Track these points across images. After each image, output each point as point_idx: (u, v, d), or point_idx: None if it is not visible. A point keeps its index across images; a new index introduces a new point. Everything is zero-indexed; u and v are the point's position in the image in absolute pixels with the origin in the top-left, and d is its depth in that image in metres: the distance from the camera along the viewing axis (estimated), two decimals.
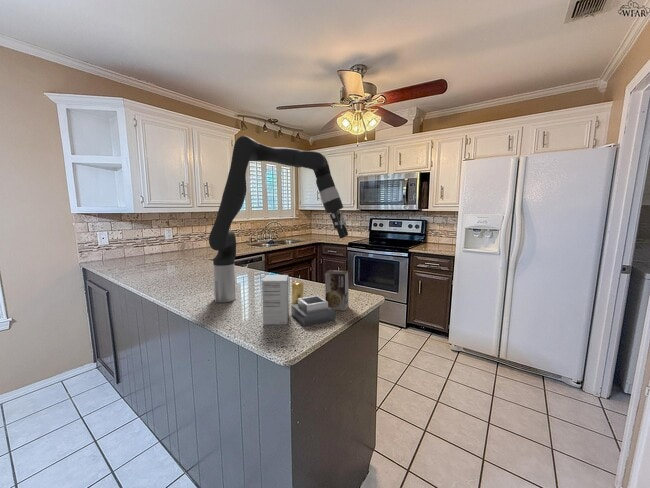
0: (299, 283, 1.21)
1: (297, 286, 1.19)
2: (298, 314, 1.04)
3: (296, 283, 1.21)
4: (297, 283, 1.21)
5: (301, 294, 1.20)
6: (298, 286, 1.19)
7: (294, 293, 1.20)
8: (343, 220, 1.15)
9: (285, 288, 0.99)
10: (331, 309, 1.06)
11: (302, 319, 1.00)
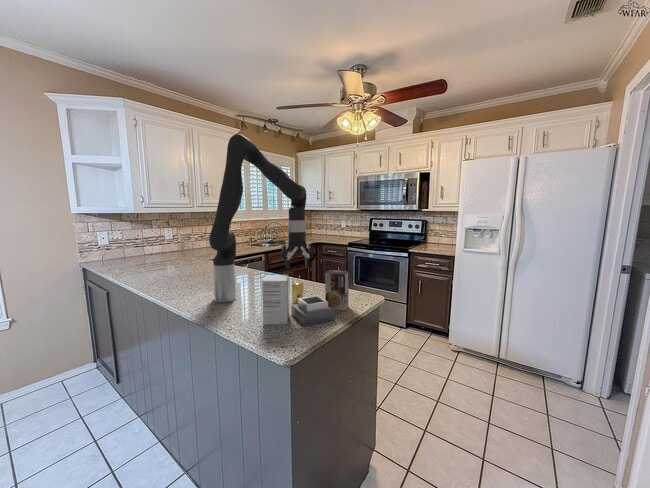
0: (299, 283, 1.21)
1: (297, 286, 1.19)
2: (298, 314, 1.04)
3: (296, 283, 1.21)
4: (297, 283, 1.21)
5: (301, 294, 1.20)
6: (298, 286, 1.19)
7: (294, 293, 1.20)
8: (303, 252, 1.19)
9: (285, 288, 0.99)
10: (331, 309, 1.06)
11: (302, 319, 1.00)
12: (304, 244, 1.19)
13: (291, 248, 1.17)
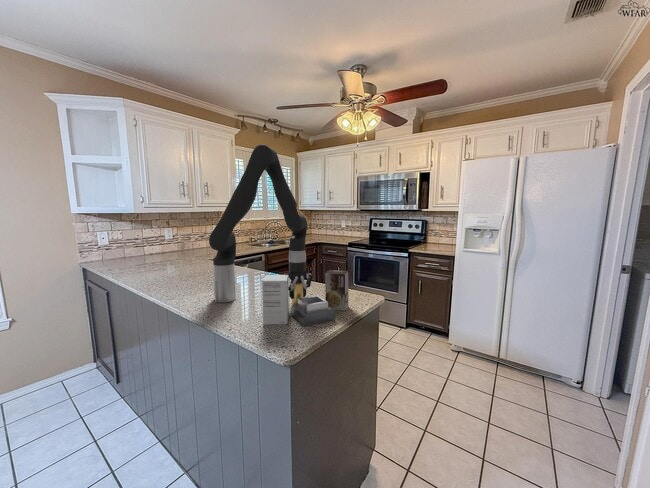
0: (299, 283, 1.21)
1: (297, 286, 1.19)
2: (298, 314, 1.04)
3: (296, 283, 1.21)
4: (297, 283, 1.21)
5: (301, 294, 1.20)
6: (298, 286, 1.19)
7: (294, 293, 1.20)
8: (302, 282, 1.20)
9: (285, 288, 0.99)
10: (331, 309, 1.06)
11: (302, 319, 1.00)
12: (304, 273, 1.21)
13: (292, 279, 1.19)
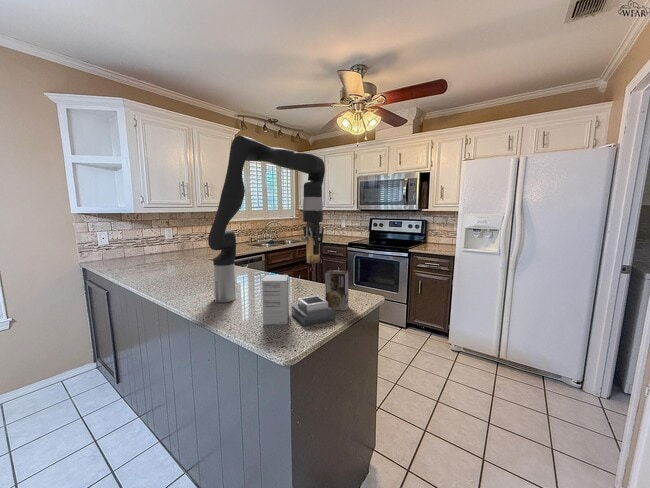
0: None
1: None
2: (298, 314, 1.04)
3: None
4: None
5: None
6: None
7: None
8: None
9: (285, 288, 0.99)
10: (331, 309, 1.06)
11: (302, 319, 1.00)
12: None
13: None
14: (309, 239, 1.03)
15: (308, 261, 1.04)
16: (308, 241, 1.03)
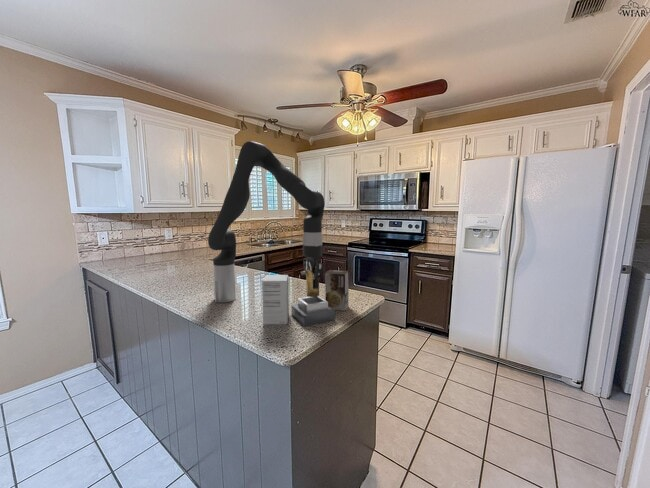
0: None
1: None
2: (298, 314, 1.04)
3: (313, 270, 1.06)
4: (313, 270, 1.06)
5: None
6: None
7: None
8: None
9: (285, 288, 0.99)
10: (331, 309, 1.06)
11: (302, 319, 1.00)
12: None
13: None
14: (309, 273, 1.04)
15: (308, 294, 1.05)
16: (308, 275, 1.04)
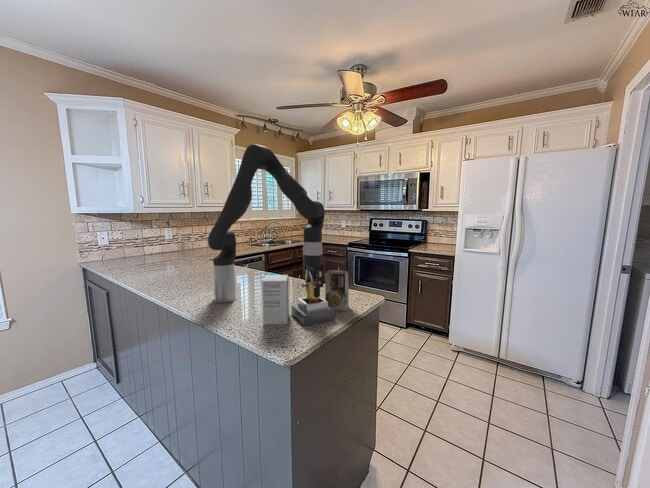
0: None
1: None
2: (298, 314, 1.04)
3: None
4: None
5: None
6: None
7: None
8: None
9: (285, 288, 0.99)
10: (331, 309, 1.06)
11: (302, 319, 1.00)
12: None
13: None
14: (309, 286, 1.05)
15: None
16: (308, 288, 1.05)
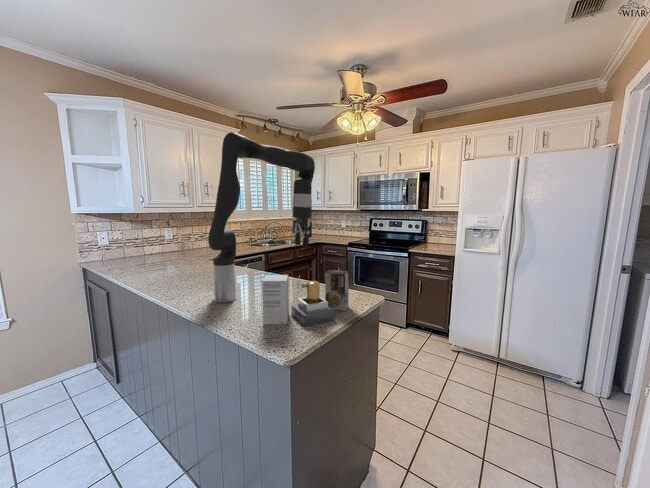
0: (314, 282, 1.07)
1: None
2: (298, 314, 1.04)
3: (314, 283, 1.06)
4: (314, 282, 1.06)
5: None
6: None
7: (318, 293, 1.06)
8: None
9: (285, 288, 0.99)
10: (331, 309, 1.06)
11: (302, 319, 1.00)
12: None
13: None
14: (309, 286, 1.04)
15: None
16: (308, 288, 1.05)
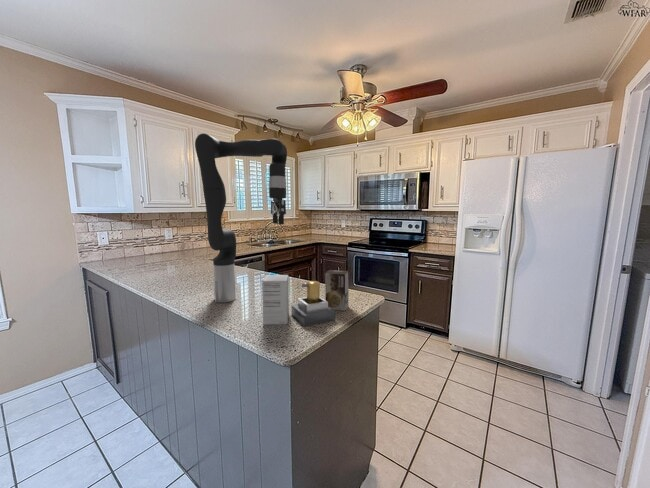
0: (314, 281, 1.08)
1: (319, 284, 1.07)
2: (298, 314, 1.04)
3: (314, 282, 1.06)
4: (314, 282, 1.07)
5: None
6: None
7: (318, 293, 1.06)
8: None
9: (285, 288, 0.99)
10: (331, 309, 1.06)
11: (302, 319, 1.00)
12: None
13: None
14: (310, 286, 1.05)
15: None
16: (309, 287, 1.05)
